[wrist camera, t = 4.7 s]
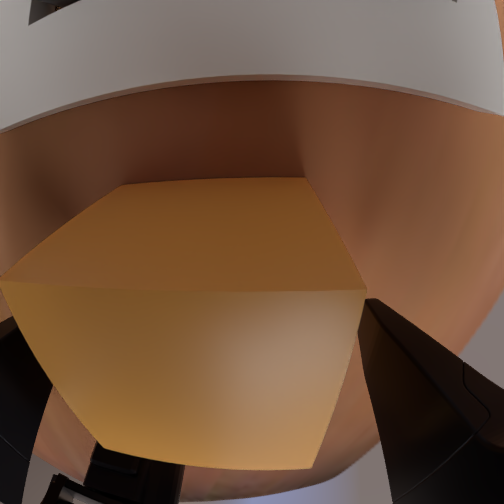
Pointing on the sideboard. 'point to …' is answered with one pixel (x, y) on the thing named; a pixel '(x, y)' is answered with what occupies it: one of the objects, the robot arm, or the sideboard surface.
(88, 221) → the light orange cube
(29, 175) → the sideboard surface
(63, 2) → the lever
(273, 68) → the panel
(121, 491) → the robot arm
